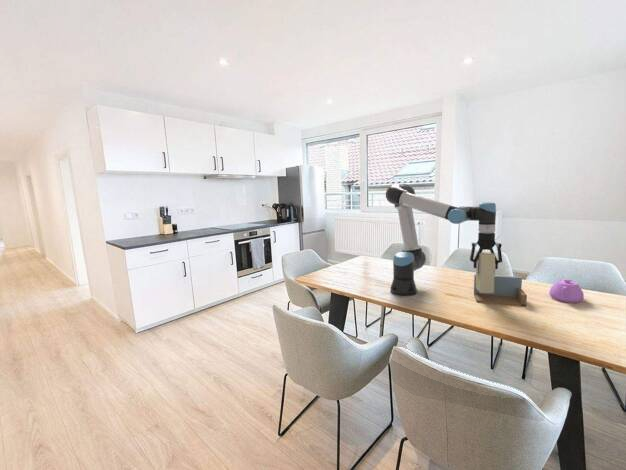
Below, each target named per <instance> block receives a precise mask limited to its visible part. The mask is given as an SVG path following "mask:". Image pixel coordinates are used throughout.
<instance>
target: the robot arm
mask: <svg viewBox="0 0 626 470" xmlns="http://www.w3.org/2000/svg"><path fill="white" fill-rule="evenodd" d="M385 198H386V200H387V202H388V203H389V204H392V205H394V208H395V209H396V210H397V212H398V218H399V225H400V230H401V237H402V241H403V242H402V243H403V247H402V250H401V251H399V252H396V253H394V255H393V260H392V264H393V265H392V266H393V269H392V270H393V279H392V282H391V285H390V293H392V294H394V295H396V296H403V297H406V296H408V297H409V296H414V295H415V294H417V293H418V288H417V286H416V282H415V279H414V277H415V276H414V275H415V274H414V273H415V271H417V270H419V269H421V268H422V267H424V266H425V264H426V262H427V256H426V253H425V252H424V251H423V250H422V246H421V245H419V241H418V240H419V239H418V235H417V230H416V229H417V228H416V224H415V218H414V217H415V216H414V211H413V209H414V210H417V211H419V212H423V213H426V214H429V215H432V216H435V217H438V218H440V219H444V220H446V221H449V222H450V223H452V224H455V225H457V224H458V225H459V224H462V223H464V222H467V221H471V222H472V221H475V222H477V221H478V232H477V233H478V234H477V235H478V239H477V242H471V252H470V256H469V260H470V262H472V263H473V268H474V269H475V274H476V275H478V262H477V260H478V258H479V253H481V252H482V251H490V252H491V253H492V254H495V251H494V249H493V248H494V247H495V246H496V248H497V249H496V251H497V256H496V254H495V270H498V269H499V267H498V266H499V263H502V262H503V255H502V245H503V244H502V243H500V242H496V233H495V232H496V217H497V206H496V203H495V202H480V203H479V205H478V206H453V205H450V204H447V203H444V202H440V201H438V200H434V199H431V198H428V197H427V198H426V197H424V196H420V195H417V194H416V192H415V188H413V187H412V186H411V185H410V184H405V183H403V184H402V183H401V184H393V185H390V186H389V187H388V188H387V189H386V192H385ZM477 246H479V248H478V250H477V251H478V252H477V251H476V247H477ZM475 251H476V255H475Z"/></svg>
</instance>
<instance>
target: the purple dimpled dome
mask: <svg viewBox="0 0 626 470" xmlns="http://www.w3.org/2000/svg"><path fill="white" fill-rule="evenodd" d="M548 292H549V296H550V297H551V298H552V299H554V300H556V301H559V302H564V303H570V304H571V303H572V304H578V303H580V302H582V301H583V300H585V299H584V298H585V296H584V291H583V290H582V288H581V287H580V285H579V284H578V283H577V282H574V281H573V280H571V279H568V278H563V279H562V280H557V281H555V283H554V284H552V286H551V287H550V289H549V291H548ZM577 302H578V303H577Z"/></svg>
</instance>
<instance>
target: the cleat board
mask: <svg viewBox="0 0 626 470" xmlns="http://www.w3.org/2000/svg"><path fill="white" fill-rule="evenodd" d="M473 277H474V278H473V279H474V280H473V297H474V299H475V302H476V303H481V304H482V303H483V304H491V305H492V304H493V305H503V306H505V305H506V306H514V307H515V306H516V307H525V308H526V307H527V297H528V295H527V294H526V292H525V291H524V290H523V289H522V285H523V283H522V282H523V277H522V276H515V275H513V276H512V275H498V274H497V275H496V274H495V276H494V293H480V292H479V291H478V290H477V289H476V273H474V276H473Z"/></svg>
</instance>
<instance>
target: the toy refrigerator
mask: <svg viewBox="0 0 626 470" xmlns="http://www.w3.org/2000/svg"><path fill="white" fill-rule="evenodd" d="M477 252H478V250H476V253H477ZM495 256H496V254H492V253H491V252H490V250H483V251H482V252H481V253H479V258H478V260H477V262H478V275H476V289H477V290H478V291H479V292H480V293H494V276H495V275H496V269H495Z"/></svg>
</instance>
